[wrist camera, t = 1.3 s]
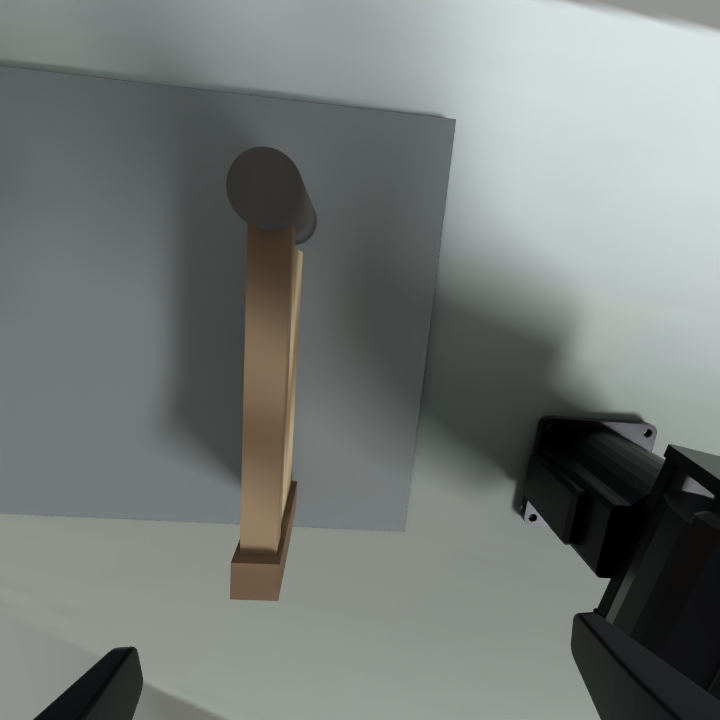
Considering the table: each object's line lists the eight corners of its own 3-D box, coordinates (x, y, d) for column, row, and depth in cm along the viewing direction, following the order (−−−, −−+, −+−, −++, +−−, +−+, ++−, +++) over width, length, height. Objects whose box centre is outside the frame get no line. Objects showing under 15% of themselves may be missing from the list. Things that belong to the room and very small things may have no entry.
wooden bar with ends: (268, 191, 17) (226, 142, 11) (318, 196, 17) (305, 150, 11) (257, 506, 20) (220, 610, 14) (299, 508, 21) (281, 612, 14)
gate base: (452, 124, 18) (521, 31, 11) (402, 524, 22) (430, 635, 15) (-104, 60, 16) (-425, -96, 9) (-39, 504, 21) (-226, 617, 14)
